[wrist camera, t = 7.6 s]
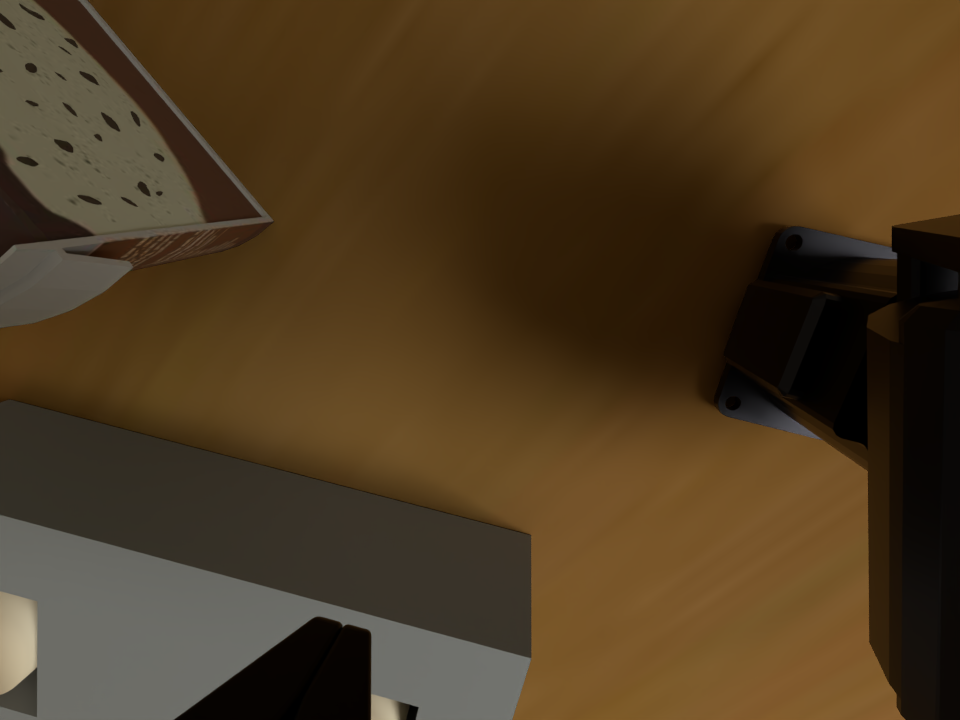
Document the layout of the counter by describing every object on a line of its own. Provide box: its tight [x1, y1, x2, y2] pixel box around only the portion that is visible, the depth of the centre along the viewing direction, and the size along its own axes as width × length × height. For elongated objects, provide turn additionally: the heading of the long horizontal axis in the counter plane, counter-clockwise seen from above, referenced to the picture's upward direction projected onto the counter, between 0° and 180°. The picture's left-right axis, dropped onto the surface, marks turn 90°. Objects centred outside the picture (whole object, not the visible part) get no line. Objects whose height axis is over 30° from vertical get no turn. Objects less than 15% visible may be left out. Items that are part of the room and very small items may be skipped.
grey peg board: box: [0, 400, 531, 720], centre depth 19 cm, size 22×10×6 cm, turn 77°
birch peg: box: [0, 591, 37, 695], centre depth 19 cm, size 4×4×6 cm
